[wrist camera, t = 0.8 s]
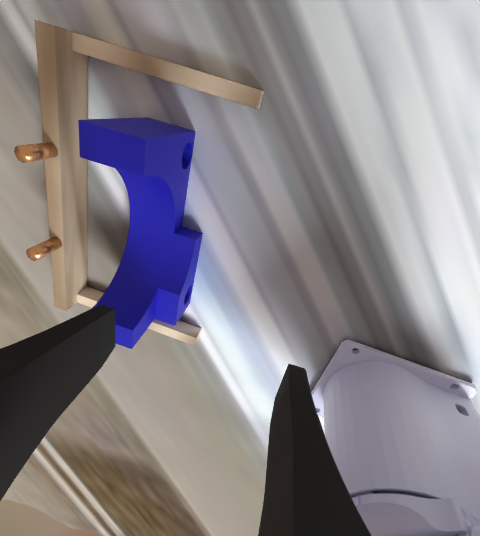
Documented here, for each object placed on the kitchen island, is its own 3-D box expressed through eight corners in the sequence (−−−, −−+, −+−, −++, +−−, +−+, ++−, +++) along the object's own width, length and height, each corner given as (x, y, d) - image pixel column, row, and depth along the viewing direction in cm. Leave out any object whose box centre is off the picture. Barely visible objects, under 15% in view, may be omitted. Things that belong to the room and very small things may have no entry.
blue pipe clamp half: (190, 301, 23) (154, 356, 18) (136, 284, 23) (86, 333, 18) (221, 138, 17) (180, 149, 12) (148, 117, 17) (78, 120, 12)
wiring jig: (264, 91, 15) (247, 84, 12) (199, 335, 24) (178, 377, 20) (71, 31, 16) (-5, 7, 12) (76, 290, 25) (33, 322, 21)
